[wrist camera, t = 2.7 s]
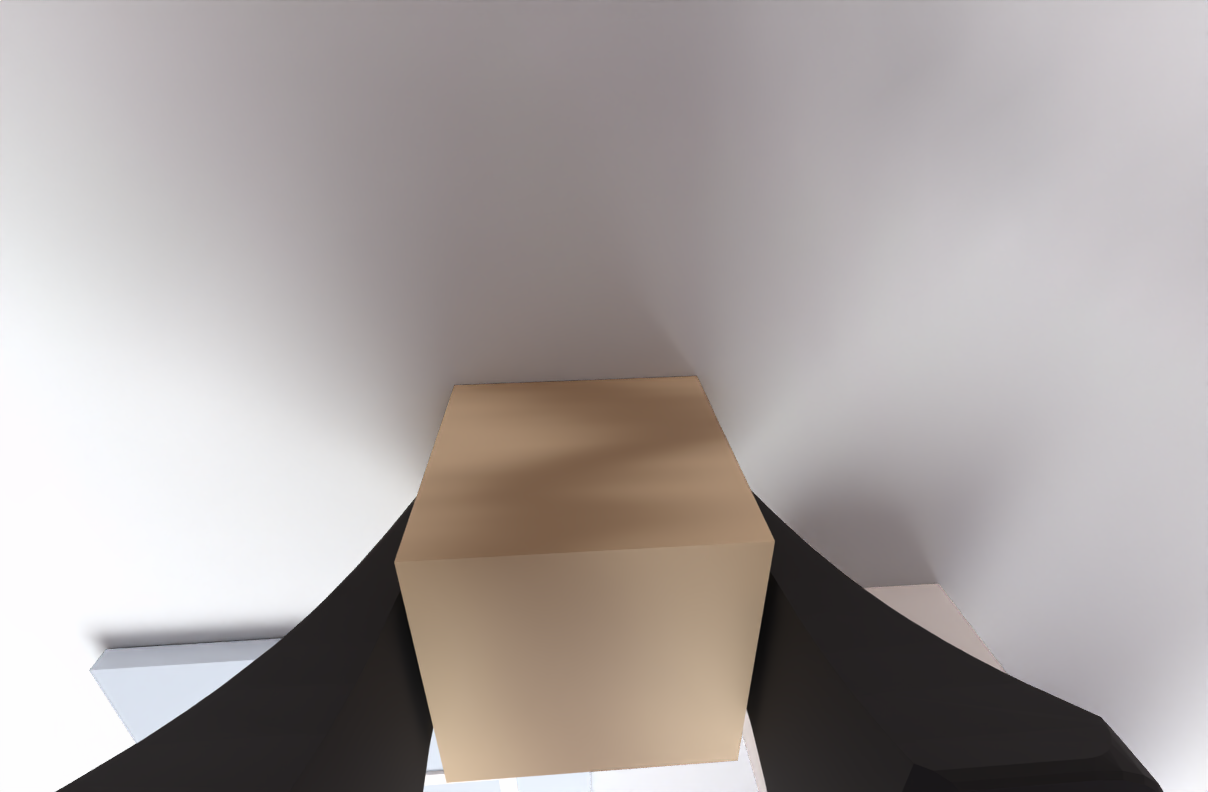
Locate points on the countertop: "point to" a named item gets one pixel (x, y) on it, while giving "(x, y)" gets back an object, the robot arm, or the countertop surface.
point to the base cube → (584, 579)
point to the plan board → (193, 671)
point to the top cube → (925, 610)
